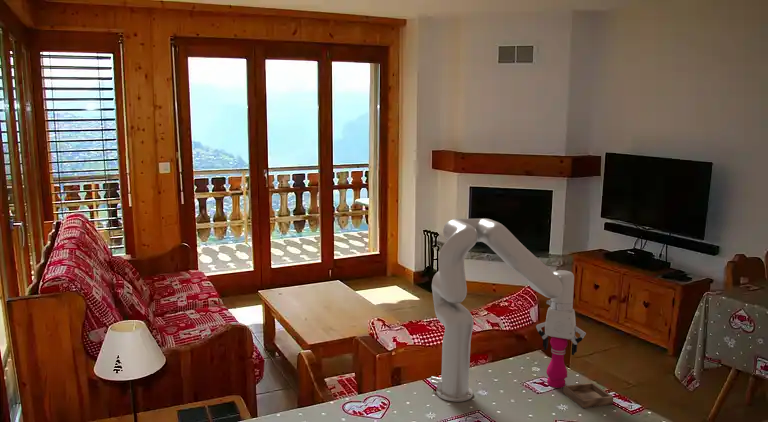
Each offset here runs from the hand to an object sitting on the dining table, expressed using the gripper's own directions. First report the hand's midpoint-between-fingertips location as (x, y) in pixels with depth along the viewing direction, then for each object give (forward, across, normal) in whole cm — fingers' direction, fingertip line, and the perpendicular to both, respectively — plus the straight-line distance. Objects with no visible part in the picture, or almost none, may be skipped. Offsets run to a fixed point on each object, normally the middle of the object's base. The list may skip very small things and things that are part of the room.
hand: (559, 351), depth 214 cm
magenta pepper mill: (+13, -1, 0) cm, 13 cm away
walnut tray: (+12, +11, -6) cm, 18 cm away
